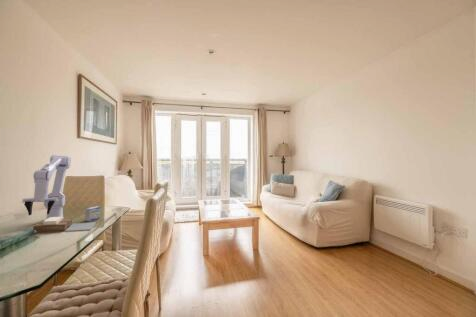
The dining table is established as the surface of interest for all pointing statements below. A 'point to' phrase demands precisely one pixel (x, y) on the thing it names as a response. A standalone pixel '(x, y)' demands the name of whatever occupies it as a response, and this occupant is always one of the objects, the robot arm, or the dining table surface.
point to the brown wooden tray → (53, 226)
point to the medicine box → (92, 213)
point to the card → (52, 220)
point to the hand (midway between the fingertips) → (39, 214)
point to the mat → (80, 227)
